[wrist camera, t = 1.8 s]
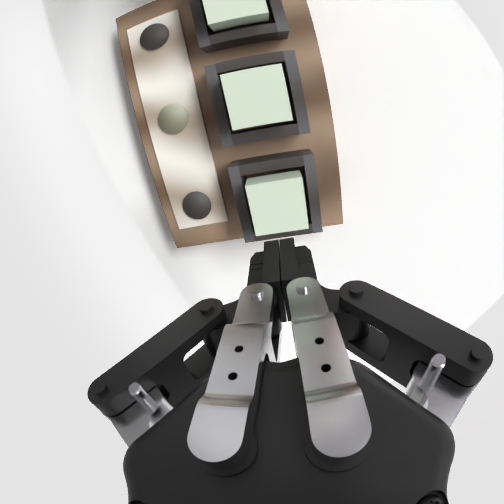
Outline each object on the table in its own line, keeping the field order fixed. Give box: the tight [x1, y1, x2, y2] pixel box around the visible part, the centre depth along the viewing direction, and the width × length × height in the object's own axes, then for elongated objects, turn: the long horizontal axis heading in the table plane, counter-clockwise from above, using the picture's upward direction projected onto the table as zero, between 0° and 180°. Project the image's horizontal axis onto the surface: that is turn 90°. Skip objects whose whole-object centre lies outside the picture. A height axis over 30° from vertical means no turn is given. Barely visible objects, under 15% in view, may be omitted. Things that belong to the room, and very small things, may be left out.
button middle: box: [220, 64, 293, 130], centre depth 16 cm, size 4×4×2 cm
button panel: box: [116, 0, 343, 248], centre depth 19 cm, size 24×16×5 cm, turn 11°
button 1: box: [202, 0, 269, 32], centre depth 12 cm, size 4×4×2 cm
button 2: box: [245, 170, 309, 236], centre depth 20 cm, size 4×4×2 cm
